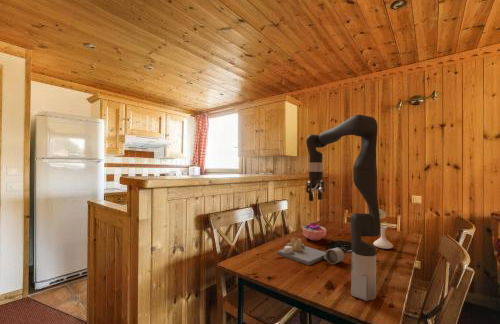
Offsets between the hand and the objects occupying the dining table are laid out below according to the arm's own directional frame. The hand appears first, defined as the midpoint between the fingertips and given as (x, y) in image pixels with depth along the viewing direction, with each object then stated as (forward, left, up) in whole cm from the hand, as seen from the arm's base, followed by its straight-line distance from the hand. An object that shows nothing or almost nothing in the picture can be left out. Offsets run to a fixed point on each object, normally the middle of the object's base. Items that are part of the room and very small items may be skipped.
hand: (315, 200), depth 134 cm
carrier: (+4, +11, -34) cm, 36 cm away
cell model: (+37, +25, -34) cm, 56 cm away
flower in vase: (+57, -14, -34) cm, 68 cm away
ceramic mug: (+9, -5, -34) cm, 36 cm away
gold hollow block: (+4, +16, -32) cm, 36 cm away
